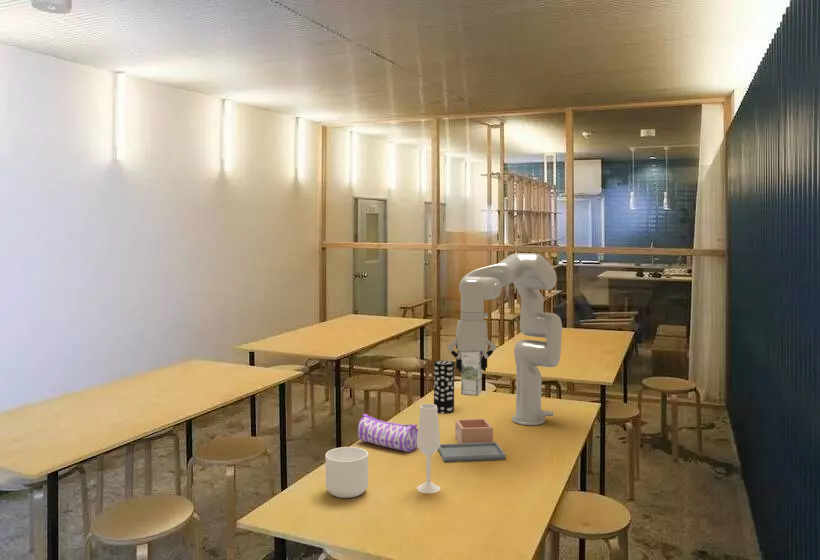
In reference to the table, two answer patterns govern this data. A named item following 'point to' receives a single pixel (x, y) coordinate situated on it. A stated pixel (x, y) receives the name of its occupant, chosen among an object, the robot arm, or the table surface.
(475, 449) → the tray
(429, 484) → the champagne flute
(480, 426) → the holder
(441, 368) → the spotted tube
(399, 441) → the pencil case
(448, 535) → the table surface
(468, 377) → the syrup box
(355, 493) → the handleless ceramic cup
